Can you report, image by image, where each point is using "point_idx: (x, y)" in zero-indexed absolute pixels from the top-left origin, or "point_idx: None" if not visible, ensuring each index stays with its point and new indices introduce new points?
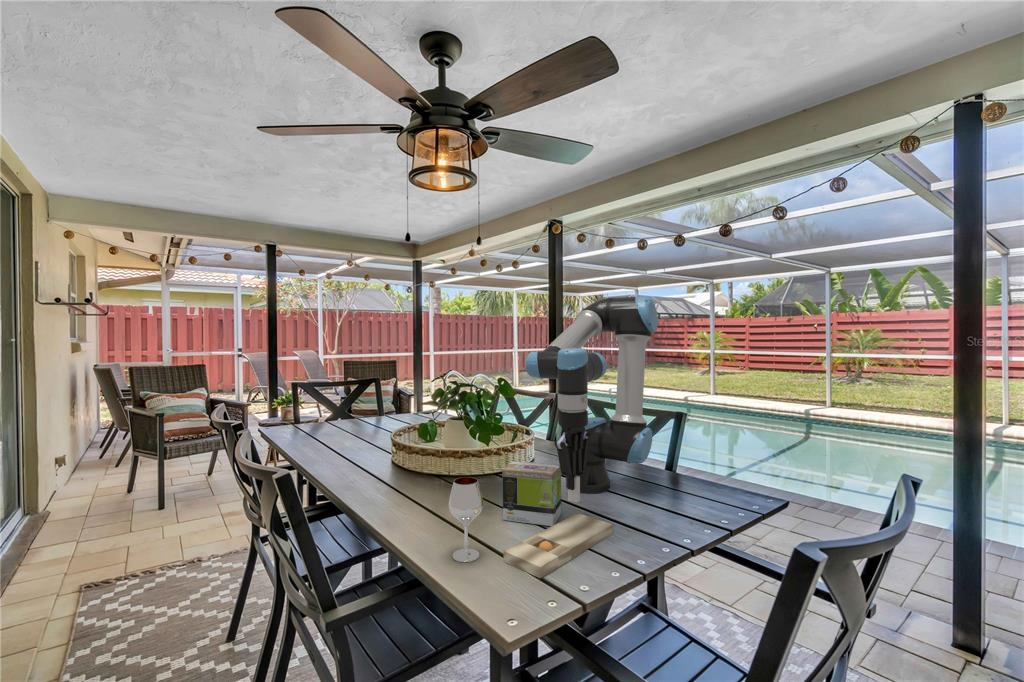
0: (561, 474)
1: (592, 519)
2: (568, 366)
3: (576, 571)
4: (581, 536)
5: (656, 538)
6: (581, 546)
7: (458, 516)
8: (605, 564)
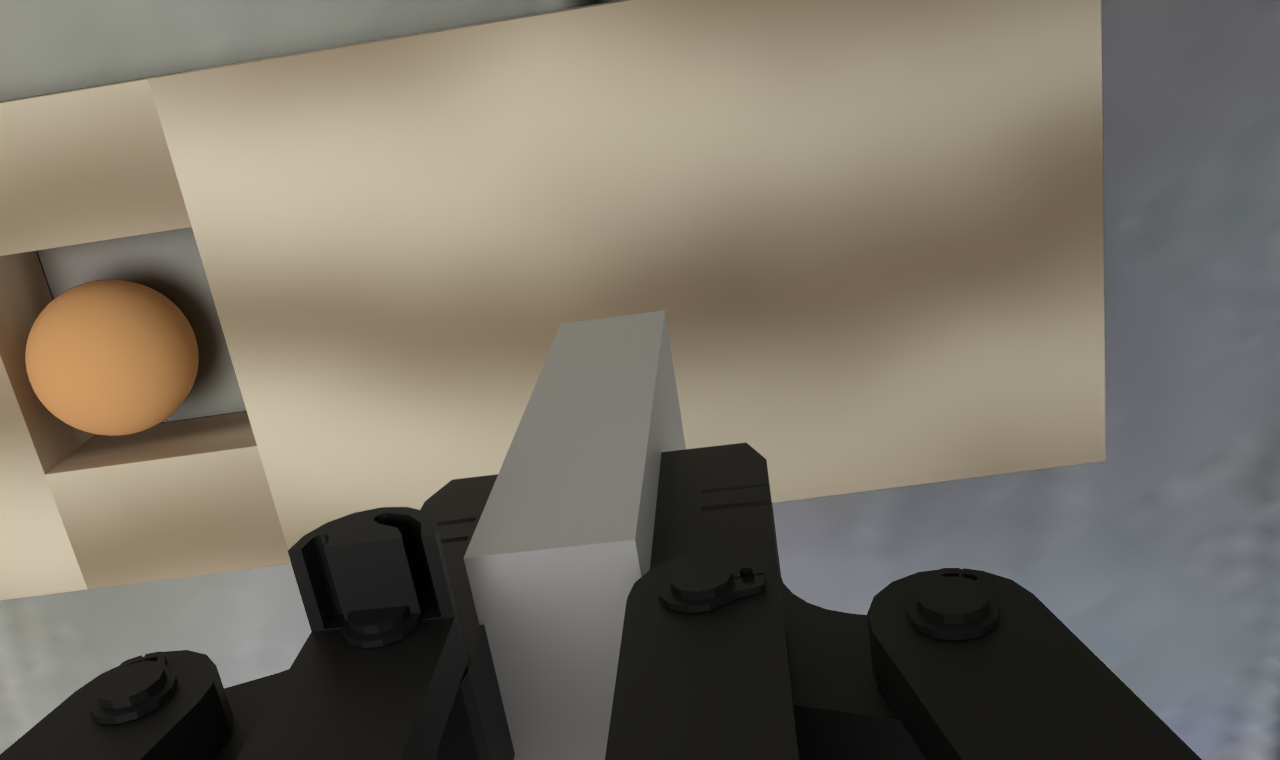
0: (92, 682)
1: (1059, 216)
2: None
3: (229, 663)
4: None
5: (1276, 727)
6: None
7: None
8: None
